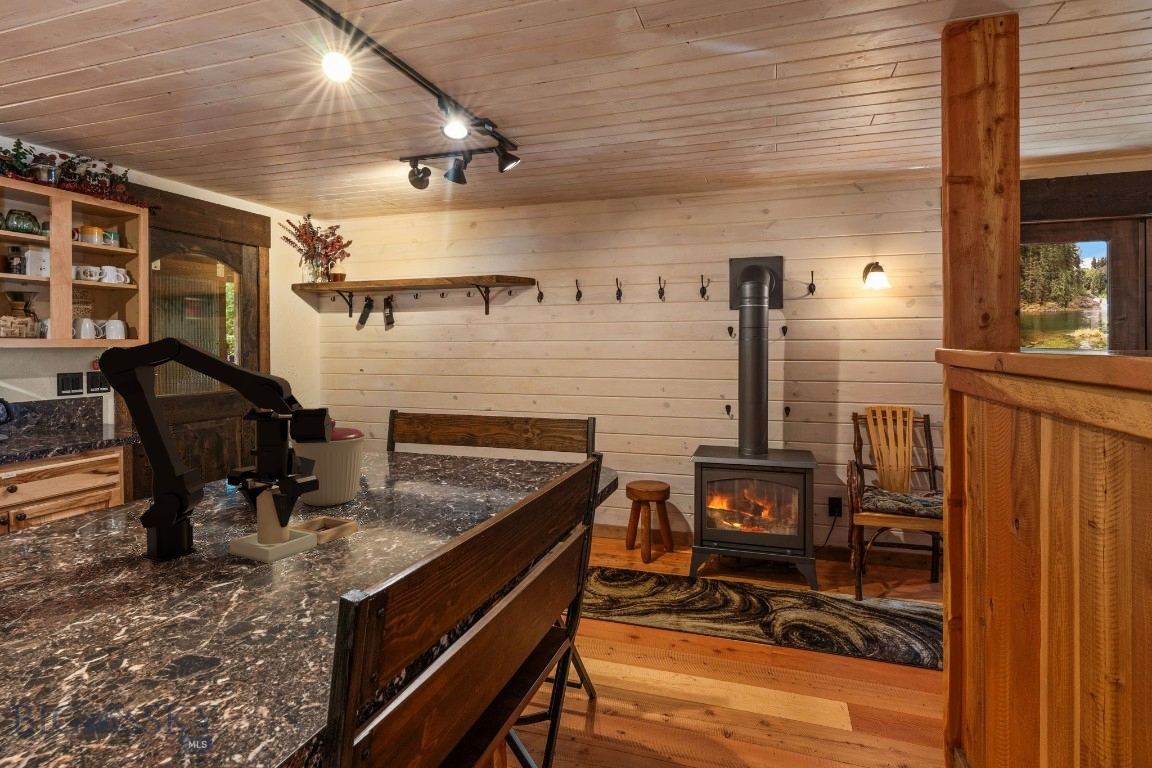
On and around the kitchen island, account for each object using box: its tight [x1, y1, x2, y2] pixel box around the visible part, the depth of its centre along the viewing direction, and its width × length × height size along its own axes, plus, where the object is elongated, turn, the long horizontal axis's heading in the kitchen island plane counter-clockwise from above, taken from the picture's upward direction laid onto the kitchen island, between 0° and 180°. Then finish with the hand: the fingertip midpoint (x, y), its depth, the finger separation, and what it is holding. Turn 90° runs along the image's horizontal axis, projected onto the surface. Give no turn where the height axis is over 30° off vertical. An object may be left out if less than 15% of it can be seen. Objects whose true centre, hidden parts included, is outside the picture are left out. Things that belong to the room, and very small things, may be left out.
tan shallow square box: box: [289, 515, 359, 545], centre depth 128 cm, size 10×10×2 cm
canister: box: [289, 417, 367, 507], centre depth 155 cm, size 18×18×21 cm
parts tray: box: [229, 528, 318, 564], centre depth 118 cm, size 11×11×2 cm
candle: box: [256, 486, 290, 545], centre depth 118 cm, size 6×6×10 cm
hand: (273, 524), depth 118 cm, fingers closed on candle, 5 cm apart
